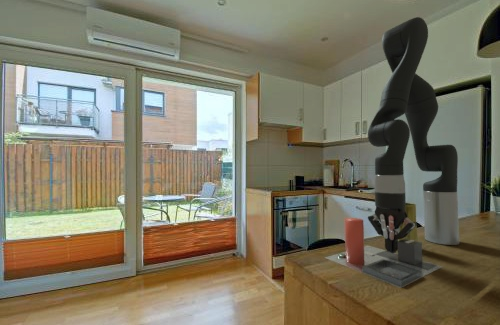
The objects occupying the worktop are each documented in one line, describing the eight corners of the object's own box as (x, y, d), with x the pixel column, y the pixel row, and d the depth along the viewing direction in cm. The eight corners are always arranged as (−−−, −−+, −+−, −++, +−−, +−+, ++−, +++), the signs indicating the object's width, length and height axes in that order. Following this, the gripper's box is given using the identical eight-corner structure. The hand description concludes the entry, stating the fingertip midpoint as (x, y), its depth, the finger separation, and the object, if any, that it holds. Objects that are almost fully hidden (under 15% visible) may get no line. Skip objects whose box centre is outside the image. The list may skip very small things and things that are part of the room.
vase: (423, 253, 70) (421, 205, 70) (400, 252, 71) (398, 204, 71) (413, 247, 76) (411, 202, 76) (392, 246, 77) (391, 202, 77)
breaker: (405, 257, 65) (405, 238, 65) (422, 261, 62) (421, 241, 62) (398, 259, 63) (397, 240, 63) (414, 265, 60) (414, 244, 60)
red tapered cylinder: (352, 256, 66) (351, 217, 67) (368, 261, 62) (367, 220, 63) (342, 259, 64) (341, 219, 64) (357, 265, 60) (356, 222, 60)
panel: (367, 247, 76) (367, 241, 76) (442, 268, 59) (442, 261, 59) (324, 259, 66) (324, 253, 66) (400, 290, 49) (400, 281, 49)
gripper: (422, 191, 63) (424, 256, 63) (375, 188, 75) (376, 243, 74) (407, 193, 60) (410, 262, 59) (360, 190, 71) (361, 248, 71)
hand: (391, 252), depth 67 cm, fingers closed
